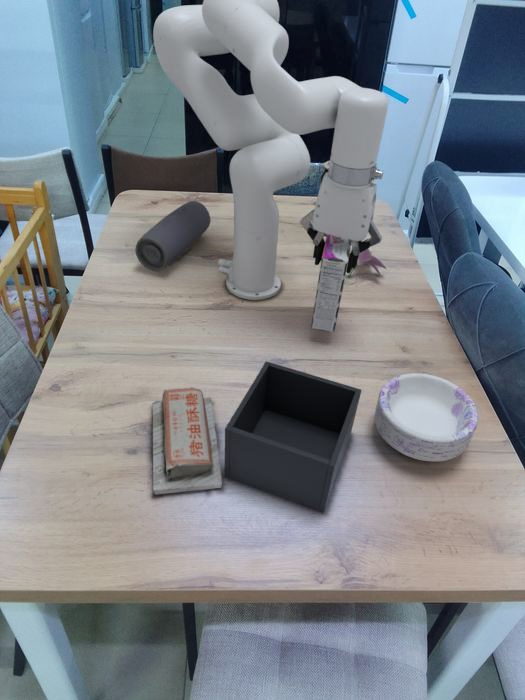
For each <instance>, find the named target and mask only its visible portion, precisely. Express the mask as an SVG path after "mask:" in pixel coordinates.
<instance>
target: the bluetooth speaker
mask: <svg viewBox="0 0 525 700" xmlns="http://www.w3.org/2000/svg"><path fill="white" fill-rule="evenodd" d="M211 221H212V220H211V214H210V212H209V211H208V209H207V207H206V206H205V205H204V204H203V203H201V202H199V201H196V200H192V201H188V202H186V203H183V204H181V205H180V206H178V207H177V208H176V209H174V210H173V211H171V212H170V213H169V214H168V215H167V214H166V216H165V217H163V218H162V219H161V220H159V221H158V222H157V223H156V224H155V225H153V226H152V227H151V228H150V229H148V230H147V231H146V232H145V233H144V234H143V235H142V236H141V237H140V238H139V239H138V240H137V243H136V244H135V247H134V249H135V250H134V251H135V255H136V259H137V260H138V261H139V263H140V264H141V265H142V267H144V268H146V269H148V270H151V271H155V272H160V271H162V270H164V269H165V268H167V267H168V266H170V265H172V264H173V263H175V262H176V261H178V260H179V259H180V258H181V257H182V256H183V255H184V254H185V253H186V252H188V251H189V250H190V249H191V248H192V247H193V246H194V244H195V243H197V241H198V240H199V239H200V238H201V237H202V236H203V235H204V234H205V233H206V231H207V230H208V229H209V227H210V225H211Z"/></svg>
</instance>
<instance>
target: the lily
mask: <svg viewBox="0 0 525 700" xmlns="http://www.w3.org/2000/svg"><path fill="white" fill-rule="evenodd" d="M351 246H352V244H351ZM359 264H364V265H368V266H371V267H372V268H373V269H374V271H375V272H376V273H377V274H378V275H379V277H382V275H381V272H380V270H379V267H380V268H382V269H385V270H387V267H386V266H385V264H384V263H382V261H381V260H380V259H379V258H377V257H376V256H375V255H373V251H371V250H370V248H368V249H367V250H365V251H363V252H361V253H359V257H358V262H357V266H359ZM355 269H356V268H352V270H351V272H350V274H349V275H348V277H349V278H350V277H351V276H352V274H353V272H354V271H355Z"/></svg>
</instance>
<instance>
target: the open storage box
mask: <svg viewBox="0 0 525 700" xmlns="http://www.w3.org/2000/svg"><path fill="white" fill-rule="evenodd" d="M361 394H362V389H361V388H357V387H354V386H351V385H347V384H344V383H341V382H337V381H334V380H331V379H328V378H324V377H320V376H317V375H314V374H311V373H306V372H303V371H301V370H297V369H294V368H290V367H287V366H284V365H282V364H281V365H280V364H277V363H273V362H270V361H267V360H266V361H264V363H263V365H262V367H261V369H260V370H259V372H258V374H257V375H256V377H255V379H254V380H253V382H252V384H251V385H250V387H249V388H248V390H247V392H246V393H245V395H244V397H243V398H242V400H241V401H240V403H239V404H238V407H237V408H236V410H235V412H234V413H233V414H232V416H231V418H230V420H229V421H228V423H227V424H226V426H225V428H224V477H227V478H229V479H231V480H235V481H238V482H240V483H242V484H245V485H249V486H251V487H254V488H256V489H259V490H261V491H264V492H267V493H270V494H271V495H275V496H278V497H281V498H283V499H286V500H288V501H292V502H294V503H297V504H300V505H302V506H305V507H307V508H310V509H313V510H317V511H319V512H321V513H325V511H326V508H327V506H328V502H329V499H330V497H331V493H332V490H333V488H334V486H335V482H336V479H337V476H338V474H339V470H340V467H341V465H342V461H343V458H344V456H345V452H346V450H347V447H348V444H349V442H350V438H351V436H352V431H353V427H354V423H355V419H356V414H357V411H358V407H359V402H360V399H361Z"/></svg>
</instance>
